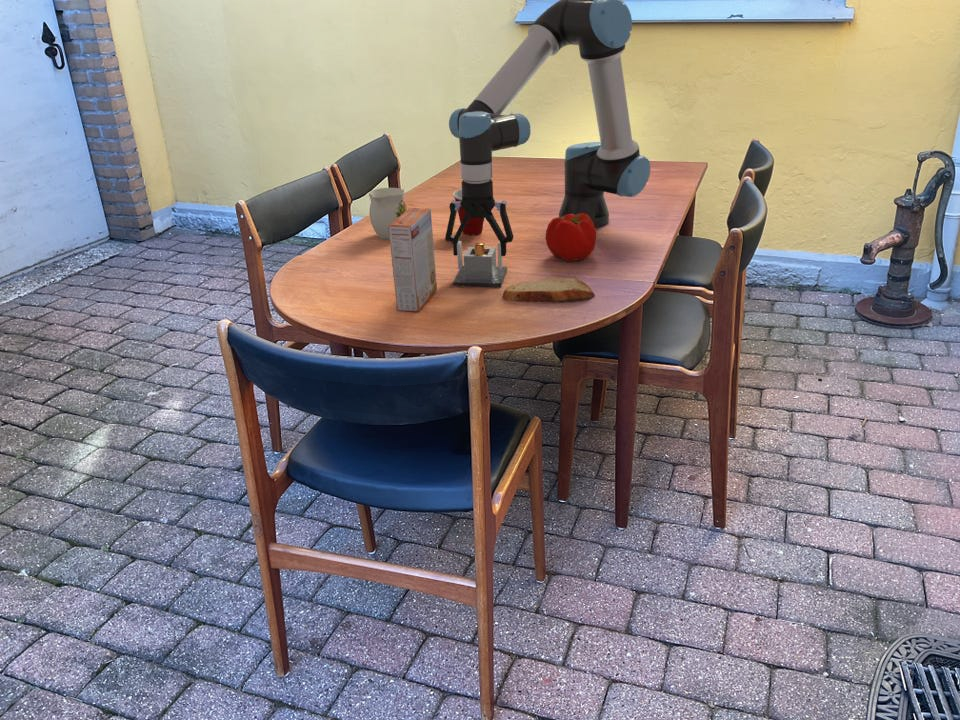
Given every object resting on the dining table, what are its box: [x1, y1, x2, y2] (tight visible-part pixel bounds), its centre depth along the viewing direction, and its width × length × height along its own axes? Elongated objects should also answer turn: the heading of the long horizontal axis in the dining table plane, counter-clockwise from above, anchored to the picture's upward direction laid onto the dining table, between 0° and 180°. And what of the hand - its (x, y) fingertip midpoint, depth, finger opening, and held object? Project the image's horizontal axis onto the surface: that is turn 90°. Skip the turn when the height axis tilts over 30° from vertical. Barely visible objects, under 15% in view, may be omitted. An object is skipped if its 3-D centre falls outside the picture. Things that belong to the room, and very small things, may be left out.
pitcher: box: [368, 187, 408, 240], centre depth 237 cm, size 11×18×14 cm, turn 163°
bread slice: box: [501, 277, 596, 303], centre depth 193 cm, size 18×18×4 cm
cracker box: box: [388, 207, 438, 313], centre depth 189 cm, size 14×6×21 cm, turn 165°
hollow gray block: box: [463, 246, 497, 280], centre depth 204 cm, size 7×7×6 cm
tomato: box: [545, 213, 597, 262], centre depth 215 cm, size 13×14×12 cm
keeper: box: [452, 242, 508, 288], centre depth 203 cm, size 12×12×9 cm
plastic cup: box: [452, 188, 485, 237], centre depth 237 cm, size 11×11×12 cm
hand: (480, 267), depth 204 cm, fingers open, 9 cm apart
